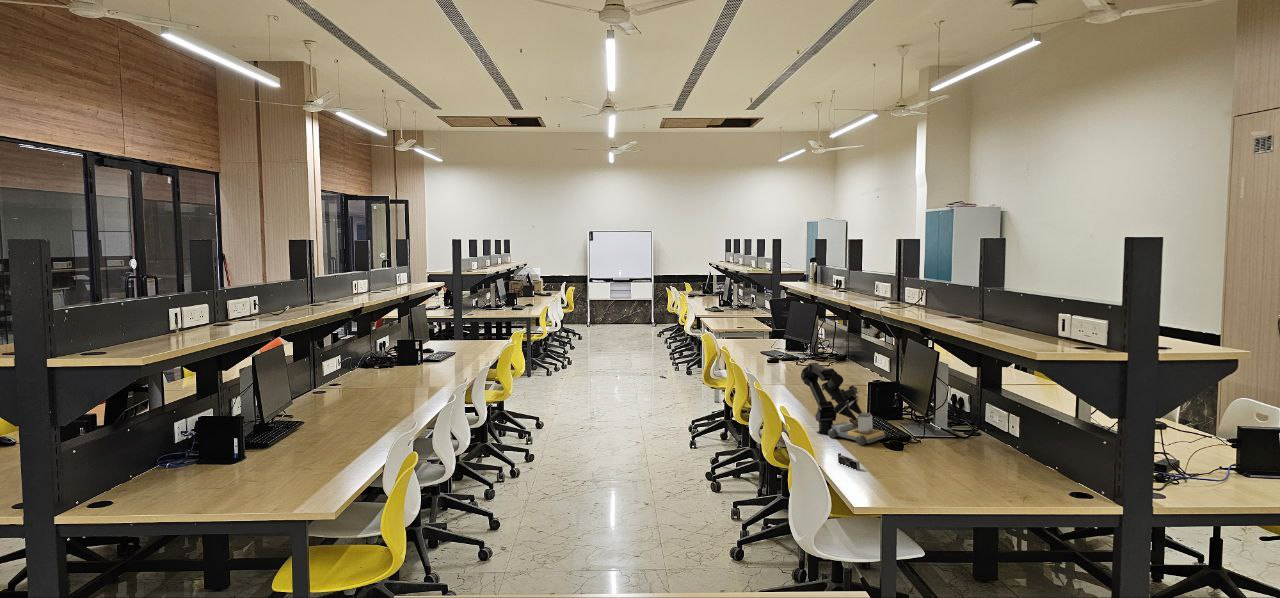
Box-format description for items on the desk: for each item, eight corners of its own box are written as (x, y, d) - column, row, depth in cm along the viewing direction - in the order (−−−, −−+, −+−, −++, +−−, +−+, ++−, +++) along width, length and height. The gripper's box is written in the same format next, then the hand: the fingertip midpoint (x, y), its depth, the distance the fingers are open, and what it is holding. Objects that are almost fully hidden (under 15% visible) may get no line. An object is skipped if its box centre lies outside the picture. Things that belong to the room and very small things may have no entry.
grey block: (858, 435, 327) (857, 414, 326) (862, 432, 331) (861, 411, 330) (869, 436, 324) (868, 415, 323) (872, 433, 328) (871, 412, 327)
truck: (826, 437, 338) (826, 426, 337) (848, 431, 346) (847, 420, 345) (865, 446, 318) (864, 434, 318) (887, 440, 326) (886, 428, 326)
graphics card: (837, 464, 297) (835, 454, 296) (842, 462, 298) (839, 451, 297) (857, 471, 286) (854, 461, 286) (862, 469, 287) (859, 458, 287)
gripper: (839, 384, 323) (864, 410, 317) (853, 377, 338) (876, 401, 332) (823, 400, 328) (847, 425, 322) (837, 392, 343) (860, 416, 337)
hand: (859, 417), depth 328 cm, fingers open, 9 cm apart
